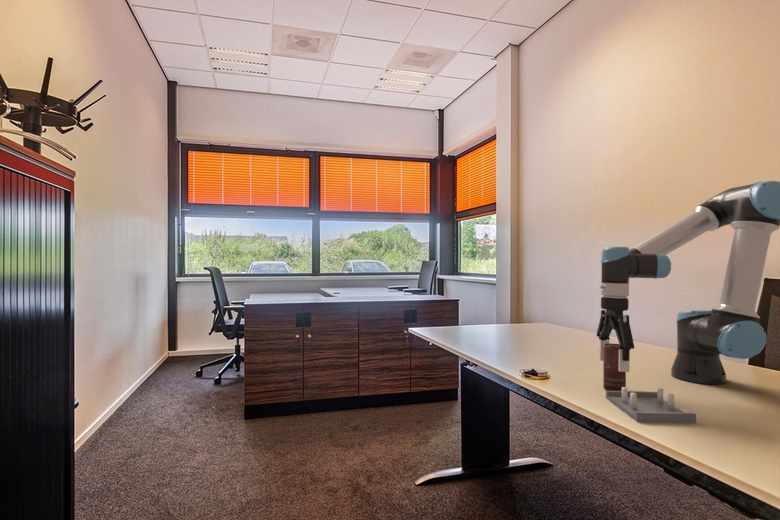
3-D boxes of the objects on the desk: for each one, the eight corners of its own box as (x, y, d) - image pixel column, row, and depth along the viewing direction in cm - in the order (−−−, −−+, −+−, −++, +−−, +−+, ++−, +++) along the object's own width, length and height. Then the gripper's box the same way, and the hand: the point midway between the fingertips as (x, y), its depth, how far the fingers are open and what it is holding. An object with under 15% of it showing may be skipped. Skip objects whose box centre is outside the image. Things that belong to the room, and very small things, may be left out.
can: (618, 394, 126) (618, 347, 126) (599, 388, 132) (599, 343, 132) (631, 391, 129) (630, 345, 129) (611, 386, 135) (611, 342, 135)
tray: (656, 399, 122) (656, 382, 122) (696, 423, 104) (696, 402, 104) (605, 398, 123) (605, 380, 123) (636, 421, 105) (636, 401, 105)
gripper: (586, 293, 143) (585, 356, 143) (620, 300, 118) (619, 376, 118) (609, 294, 143) (608, 356, 143) (648, 300, 118) (647, 377, 118)
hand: (613, 365), depth 130 cm, fingers open, 13 cm apart
